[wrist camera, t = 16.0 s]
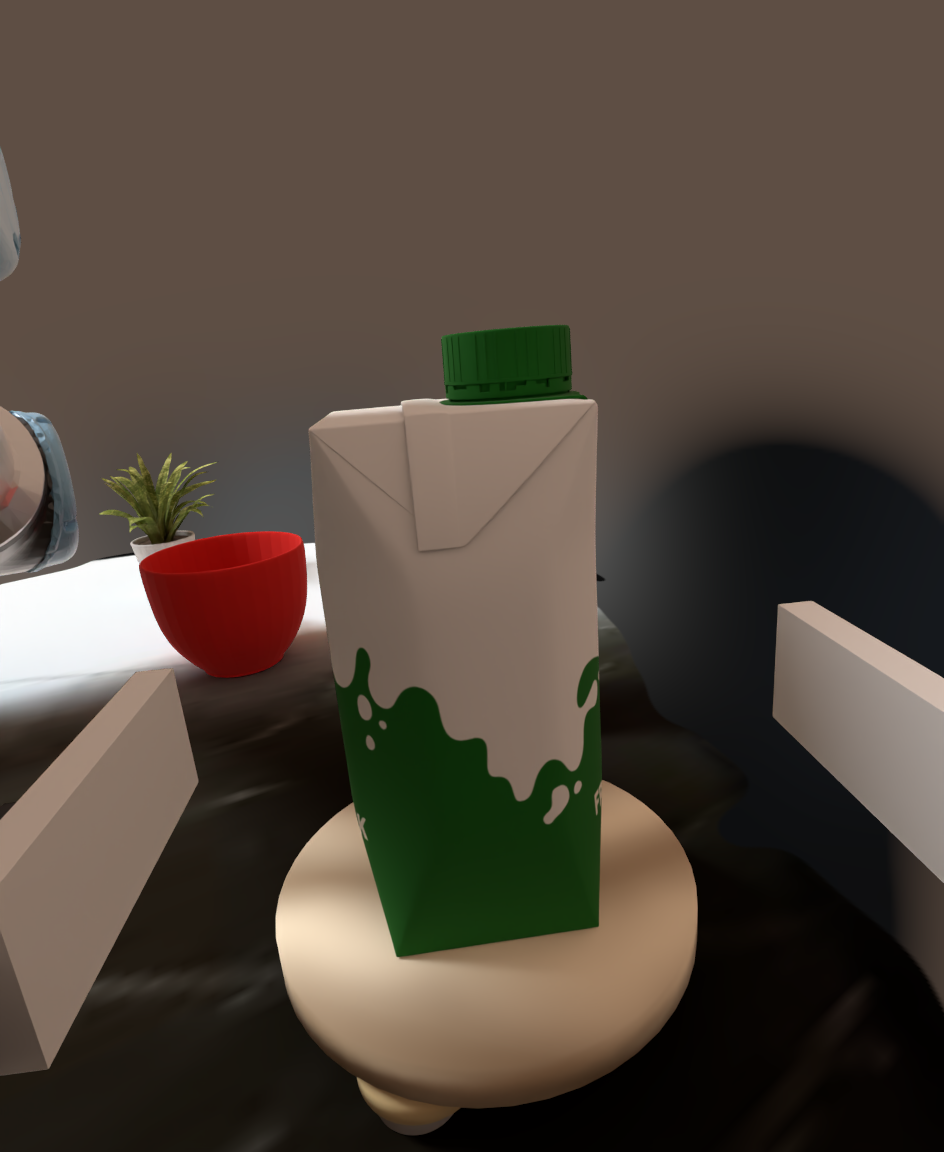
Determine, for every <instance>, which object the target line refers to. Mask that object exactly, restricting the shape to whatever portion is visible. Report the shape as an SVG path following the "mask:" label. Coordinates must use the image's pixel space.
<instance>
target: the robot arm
mask: <svg viewBox="0 0 944 1152" xmlns="http://www.w3.org/2000/svg"><path fill="white" fill-rule="evenodd" d="M20 245H21V237H20V230H19V223H18V217H17V211H16V208H15V204H14V201H13V195H12V190H11V185H10V181H9V176H8V172H7V169H6V165H5V161H4V158H3V154H2V151H1V147H0V281H1V280H3V279H5V278H6V277H8V276H9V275H10V274H11V273H12V272H13V271H14V269H15V267H16V266H17V264H18V259H19V250H20ZM76 516H77V515H76V503H75V497H74V492H73V487H72V481H71V477H70V473H69V469H68V465H67V461H66V458H65V454H64V451H63V448H62V445H61V442H60V439H59V436H58V434H57V432H56V431H55V428H54V427H53V426H52V424H51V422H50V420H49V419H48V418H47V417H45V416H44V415H41V414H39V413H24V412H20V411H16V412H15V411H9V412H8V411H7V410H5V409H4V408H2V407H1V406H0V576H3V575H9V574H14V573H20V572H28V573H30V572H36V571H39V570H41V569H42V568H44V567H47V566H51V565H55V564H59V563H63V562H65V561H67V560H69V559H70V558H71V557H72V556H73V555H74V554H75V552H76V549H77V546H78V539H79V533H78V532H79V531H78V524H77V520H76ZM773 717H774V718H775V719H776V720H777V721H778V722H779V723H780V724H781V725H782V726H783V727H784V728H785V729H786V730H787V731H788V732H789V733H790V734H791V735H792V736H793V737H794V738H795V739H796V740H797V741H798V742H799V743H800V744H802V745H803V747H805V748H806V749H807V750H808V751H809V752H810V753H811V754H812V755H813V756H814V757H815V758H816V759H817V760H818V761H819V762H820V763H821V764H822V765H823V766H824V767H825V768H826V769H827V770H828V771H829V772H830V773H831V774H832V775H833V776H834V777H835V778H836V779H837V780H838V781H840V782H841V784H842V785H844V786H845V787H846V788H847V789H848V790H849V791H850V792H851V793H852V794H853V795H854V796H855V797H856V798H857V799H858V800H859V801H860V802H861V803H862V804H863V805H864V806H865V807H866V808H867V809H868V810H869V811H871V813H872V814H873V815H874V816H875V817H876V818H878V820H879V821H881V823H882V824H884V825H885V826H886V827H887V828H888V829H889V830H890V831H891V832H892V833H893V834H894V835H895V836H896V837H897V838H898V839H899V840H900V841H901V842H902V843H903V844H904V845H905V846H906V847H907V848H908V849H909V850H910V851H911V852H912V853H914V855H915V856H916V857H917V858H918V859H920V861H921V862H923V863H924V864H925V865H926V866H927V867H928V868H929V869H930V870H931V871H932V872H933V873H934V874H935V875H936V876H937V877H938V878H939V879H940V880H941V881H942V882H943V883H944V678H942V677H940V676H939V675H937V674H935V673H934V672H932V671H930V670H929V669H927V668H925V667H923V666H922V665H920V664H918V663H917V662H915V661H913V660H912V659H910V658H908V657H907V656H905V655H903V654H901V653H900V652H898V651H896V650H895V649H893V648H891V647H889V646H888V645H886V644H884V643H883V642H881V641H879V640H878V639H876V638H874V637H872V636H871V635H869V634H867V633H866V632H864V631H862V630H861V629H859V628H857V627H855V626H854V625H852V624H850V623H848V622H847V621H845V620H843V619H842V618H840V617H838V616H836V615H835V614H833V613H832V612H830V611H828V610H826V609H825V608H823V607H821V606H820V605H818V604H816V603H814V602H813V601H807V602H797V603H788V604H779V605H778V619H777V640H776V659H775V679H774V699H773ZM198 782H199V781H198V777H197V772H196V768H195V763H194V759H193V755H192V750H191V746H190V741H189V737H188V732H187V728H186V723H185V719H184V715H183V710H182V706H181V701H180V697H179V692H178V688H177V684H176V679H175V675H174V670H173V668H170V669H160V670H151V671H141V672H136V673H135V674H134V675H133V676H132V677H131V678H130V679H129V680H128V681H127V682H126V684H125V685H124V686H123V687H122V688H121V689H120V690H119V691H118V692H117V693H116V694H115V696H114V697H113V698H112V699H111V700H110V701H109V702H108V703H107V704H106V705H105V706H104V708H103V709H102V710H101V711H100V712H99V713H98V714H97V715H96V716H95V717H94V718H93V719H92V721H91V722H90V723H89V724H88V725H87V726H86V727H85V728H84V729H83V730H82V731H81V733H80V734H79V735H78V736H77V737H76V738H75V739H74V740H73V741H72V742H71V743H70V745H69V746H68V747H67V748H66V749H65V750H64V751H63V752H62V753H61V754H60V755H59V757H58V758H57V759H56V760H55V761H54V762H53V763H52V764H51V765H50V766H49V767H48V769H47V770H46V771H45V772H44V773H43V774H42V775H41V776H40V777H39V778H38V779H37V781H36V782H35V783H34V784H33V785H32V786H31V787H30V788H29V789H28V790H27V791H26V793H25V794H24V795H23V796H22V797H21V798H20V799H19V800H18V801H17V802H14V803H5V804H3V805H2V806H0V1075H8V1074H15V1073H23V1072H30V1071H38V1070H46V1069H49V1067H50V1065H51V1063H52V1061H53V1059H54V1057H55V1055H56V1054H57V1052H58V1050H59V1048H60V1046H61V1044H62V1042H63V1040H64V1038H65V1036H66V1034H67V1033H68V1031H69V1029H70V1027H71V1025H72V1023H73V1021H74V1019H75V1017H76V1015H77V1013H78V1011H79V1010H80V1008H81V1006H82V1004H83V1002H84V1000H85V998H86V996H87V994H88V992H89V990H90V989H91V987H92V985H93V983H94V981H95V979H96V977H97V975H98V973H99V971H100V969H101V967H102V966H103V964H104V962H105V960H106V958H107V956H108V954H109V952H110V950H111V948H112V946H113V945H114V943H115V941H116V939H117V937H118V935H119V933H120V931H121V929H122V927H123V925H124V923H125V922H126V920H127V918H128V916H129V914H130V912H131V910H132V908H133V906H134V904H135V902H136V901H137V899H138V897H139V895H140V893H141V891H142V889H143V887H144V885H145V883H146V881H147V879H148V878H149V876H150V874H151V872H152V870H153V868H154V866H155V864H156V862H157V860H158V858H159V857H160V855H161V853H162V851H163V849H164V847H165V845H166V843H167V841H168V839H169V837H170V835H171V834H172V832H173V830H174V828H175V826H176V824H177V822H178V820H179V818H180V816H181V814H182V812H183V811H184V809H185V807H186V805H187V803H188V801H189V799H190V797H191V795H192V793H193V791H194V790H195V788H196V786H197V784H198Z"/></svg>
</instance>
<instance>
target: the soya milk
mask: <svg viewBox="0 0 944 1152" xmlns="http://www.w3.org/2000/svg"><path fill="white" fill-rule="evenodd" d="M441 343H442V356H443V368H444V381H445V382H444V384H445V385H446V386H445V388H446V399H438V400H434V399H417V400H407V401H402V402H401V406H392V407H379V408H368V409H357V410H347V411H335V412H332V413H330V414H329V415H327V416H326V417H324V418H323V419H322V420H320V421H319V422H317V423H316V424H315V425H313V426H312V427H311V428H309V444H310V456H311V474H312V492H313V511H314V527H315V528H314V529H315V546H316V558H317V568H318V575H319V582H320V589H321V596H322V602H323V609H324V616H325V622H326V629H327V635H328V642H329V649H330V655H331V662H332V668H333V675H334V682H335V688H336V695H337V701H338V708H339V714H340V721H341V727H342V734H343V741H344V747H345V754H346V760H347V767H348V773H349V779H350V786H351V792H352V798H353V803H354V808H355V812H356V817H357V820H358V824H359V827H360V831H361V834H362V838H363V841H364V845H365V848H366V852H367V855H368V859H369V862H370V866H371V869H372V873H373V876H374V880H375V883H376V887H377V890H378V894H379V897H380V901H381V904H382V908H383V911H384V915H385V918H386V922H387V925H388V929H389V932H390V935H391V939H392V943H393V946H394V950H395V954H396V957H403V956H409V955H416V954H422V953H429V952H436V951H442V950H449V949H456V948H462V947H469V946H475V945H482V944H489V943H495V942H502V941H508V940H515V939H522V938H528V937H535V936H542V935H548V934H555V933H561V932H568V931H575V930H581V929H588V928H594V927H599V893H600V850H601V806H602V765H601V727H600V693H599V658H598V624H597V592H596V590H597V589H596V555H595V554H596V553H595V503H596V502H595V501H596V500H595V498H596V457H597V455H596V454H597V420H598V419H597V418H598V405H597V404H596V402H595V401H594V400H588V399H587V398H586V397H585V396H584V395H580V394H579V392H576V391H570V390H571V389H572V388H571V387H572V386H571V375H572V369H571V344H570V328H569V326H568V325H546V326H530V327H517V328H505V329H494V330H484V331H474V332H465V333H457V334H450V335H445V336H443V337H442V339H441Z"/></svg>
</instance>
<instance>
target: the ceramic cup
mask: <svg viewBox="0 0 944 1152" xmlns="http://www.w3.org/2000/svg"><path fill="white" fill-rule="evenodd" d="M139 570H140V574H141V578H142V582H143V585H144V588H145V591H146V594H147V597H148V600H149V603H150V606H151V609H152V611H153V614H154V616H155V618H156V621H157V623H158V625H159V627H160V629H161V631H162V632H163V634H164V636H165V637H166V638H167V640H168V641H169V643H170V644H171V645H172V646H173V647H174V648H175V649H176V650H177V651H178V652H179V653H180V654H181V655H182V656H183V657H185V658H186V659H187V660H189V661H190V662H191V663H193V664H194V665H196V666H197V667H199V668H201V669H203V670H204V671H205V672H206V673H207V674H208V675H211V676H214V677H223V678H228V677H240V676H245V675H250V674H254V673H257V672H260V671H263V670H265V669H268V668H270V667H272V666H273V665H275V664H277V663H278V662H279V661H280V660H281V659H282V658H283V656H284V653H285V651H286V650H287V649H288V647H289V646H290V644H291V643H292V641H293V640H294V638H295V636H296V634H297V632H298V630H299V627H300V625H301V622H302V619H303V615H304V611H305V607H306V599H307V570H306V558H305V549H304V544H303V541H302V538H301V537H299V536H298V535H295V534H291V533H284V532H247V533H237V534H228V535H221V536H215V537H210V538H203V539H199V540H194V541H190V542H186V543H182V544H178V545H175V546H172V547H169V548H165V549H163V550H160V551H158V552H155V553H153V554H151V555H149V556H147V557H146V558H145V559H143V560H142V561H141V563H140V564H139Z"/></svg>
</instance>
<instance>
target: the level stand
mask: <svg viewBox="0 0 944 1152" xmlns="http://www.w3.org/2000/svg"><path fill="white" fill-rule="evenodd" d="M697 912H698V905H697V891H696V883H695V879H694V876H693V872H692V868H691V865H690V863H689V860H688V858H687V856H686V854H685V852H684V849H683V847H682V846H681V844H680V843H679V841H678V840H677V838H676V837H675V835H674V834H673V832H672V831H671V830H670V829H669V828H668V826H667V825H666V824H665V823H664V822H663V821H662V820H661V819H660V817H659V816H657V815H656V814H655V813H654V812H653V811H652V810H651V809H649V808H648V807H647V806H646V805H645V804H643V803H642V802H641V801H639V800H638V799H636V798H635V797H633V796H632V795H630V794H629V793H627V792H625V791H624V790H622V789H620V788H618V787H616V786H614V785H612V784H611V783H608V782H606V781H604V780H602V806H601V850H600V893H599V927H594V928H588V929H581V930H575V931H568V932H561V933H555V934H548V935H542V936H535V937H528V938H522V939H515V940H508V941H502V942H495V943H489V944H482V945H475V946H469V947H462V948H456V949H449V950H442V951H436V952H429V953H422V954H416V955H409V956H403V957H396V954H395V950H394V946H393V943H392V939H391V935H390V932H389V929H388V925H387V922H386V918H385V915H384V911H383V908H382V904H381V901H380V897H379V894H378V890H377V887H376V883H375V880H374V876H373V873H372V869H371V866H370V862H369V859H368V855H367V852H366V848H365V845H364V841H363V838H362V834H361V831H360V827H359V824H358V820H357V817H356V812H355V808H354V803H351V804H350V805H349V806H347V807H346V808H344V809H343V810H342V811H340V812H339V813H337V814H336V815H335V816H334V817H333V818H332V819H330V820H329V821H328V822H327V823H326V824H325V825H324V826H323V827H321V828H320V829H319V830H318V832H317V833H316V834H315V835H314V836H313V837H312V838H311V839H310V840H309V842H308V843H307V844H306V845H305V847H304V848H303V849H302V851H301V852H300V854H299V855H298V857H297V858H296V859H295V861H294V863H293V865H292V867H291V869H290V871H289V873H288V874H287V876H286V879H285V881H284V884H283V887H282V890H281V893H280V896H279V901H278V907H277V913H276V940H277V945H278V950H279V955H280V960H281V965H282V970H283V975H284V980H285V985H286V990H287V994H288V996H289V999H290V1001H291V1004H292V1006H293V1009H294V1011H295V1013H296V1015H297V1017H298V1019H299V1020H300V1022H301V1023H302V1025H303V1027H304V1028H305V1030H306V1031H307V1033H308V1034H309V1036H310V1037H311V1038H312V1039H313V1040H314V1041H315V1043H316V1044H317V1045H318V1046H319V1047H320V1048H321V1049H322V1050H323V1051H324V1052H325V1053H326V1055H327V1056H329V1057H330V1058H331V1059H332V1060H334V1061H335V1062H336V1063H338V1064H339V1065H340V1066H342V1067H343V1068H344V1069H345V1070H347V1071H348V1072H349V1073H351V1074H352V1075H354V1076H356V1077H357V1081H358V1085H359V1089H360V1092H361V1094H362V1096H363V1098H364V1100H365V1101H366V1103H367V1104H368V1105H369V1107H370V1108H371V1109H372V1110H373V1111H374V1112H376V1113H377V1114H378V1115H379V1117H380V1118H381V1120H382V1121H383V1122H384V1123H385V1125H386V1126H388V1127H389V1128H390V1129H392V1130H394V1131H395V1132H398V1133H400V1134H405V1135H421V1134H426V1133H429V1132H431V1131H433V1130H435V1129H437V1128H439V1127H440V1126H442V1125H443V1124H444V1123H445V1122H447V1121H448V1120H449V1119H450V1117H451V1116H452V1115H453V1114H454V1112H456V1111H457V1110H459V1109H460V1108H477V1109H479V1108H493V1107H507V1106H516V1105H521V1104H526V1103H531V1102H535V1101H540V1100H545V1099H549V1098H552V1097H555V1096H558V1095H561V1094H564V1093H566V1092H569V1091H572V1090H575V1089H578V1088H581V1087H583V1086H585V1085H587V1084H589V1083H591V1082H593V1081H594V1080H596V1079H598V1078H600V1077H602V1076H604V1075H606V1074H608V1073H610V1072H612V1071H613V1070H615V1069H616V1068H617V1067H619V1066H620V1065H622V1064H623V1063H624V1062H626V1061H627V1060H629V1059H630V1058H631V1057H633V1056H634V1055H635V1054H637V1053H638V1052H639V1051H640V1050H641V1049H642V1048H643V1047H644V1046H645V1045H646V1044H647V1043H648V1042H649V1041H650V1040H651V1039H652V1038H653V1037H654V1036H655V1035H656V1034H658V1033H659V1031H660V1030H661V1029H662V1027H663V1026H664V1025H665V1023H666V1022H667V1021H668V1019H669V1018H670V1017H671V1015H672V1014H673V1012H674V1011H675V1010H676V1008H677V1006H678V1004H679V1002H680V1000H681V998H682V996H683V994H684V992H685V990H686V988H687V986H688V983H689V979H690V976H691V973H692V969H693V966H694V962H695V953H696V944H697Z"/></svg>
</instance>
